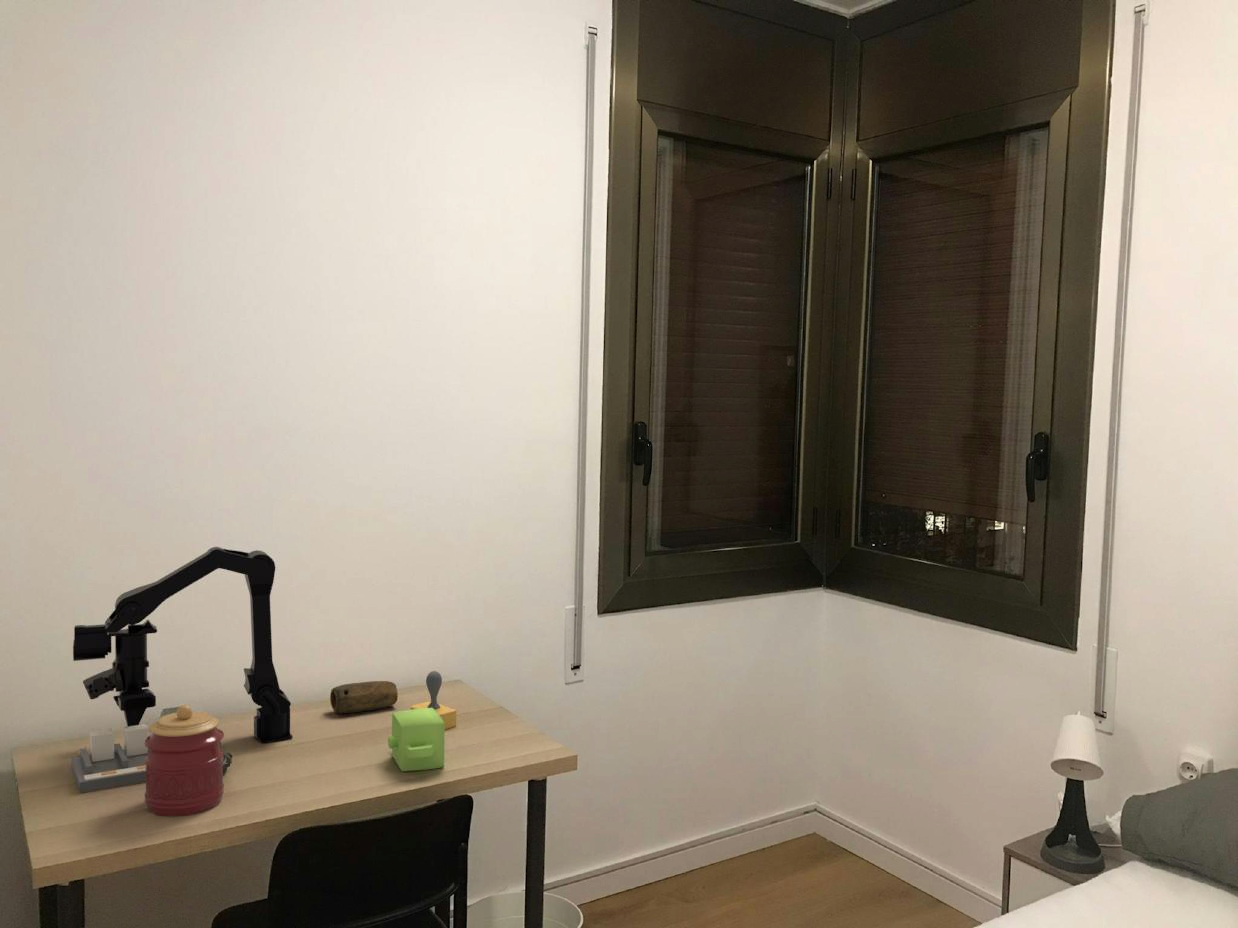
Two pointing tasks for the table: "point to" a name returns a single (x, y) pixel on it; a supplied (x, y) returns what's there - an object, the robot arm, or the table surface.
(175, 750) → the canister
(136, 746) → the tab
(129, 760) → the switch panel
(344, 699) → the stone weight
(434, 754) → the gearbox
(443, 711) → the rubber stamp
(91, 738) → the tab
